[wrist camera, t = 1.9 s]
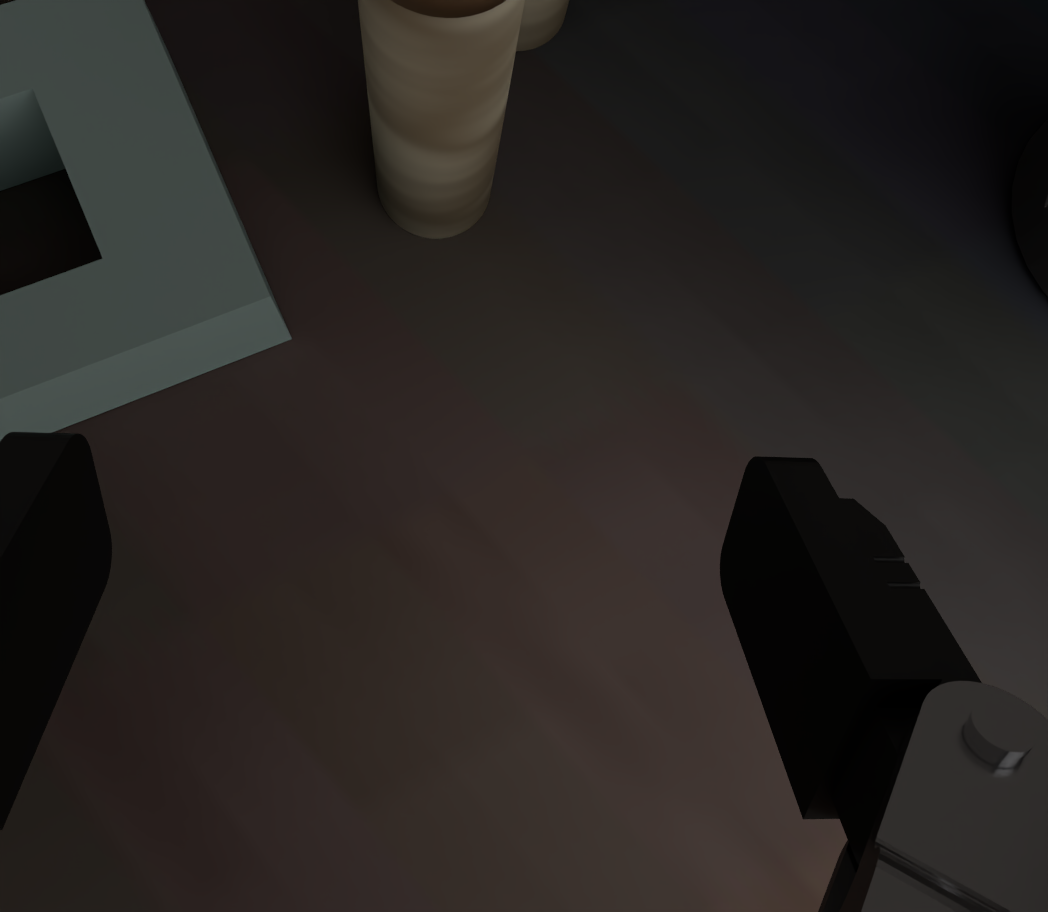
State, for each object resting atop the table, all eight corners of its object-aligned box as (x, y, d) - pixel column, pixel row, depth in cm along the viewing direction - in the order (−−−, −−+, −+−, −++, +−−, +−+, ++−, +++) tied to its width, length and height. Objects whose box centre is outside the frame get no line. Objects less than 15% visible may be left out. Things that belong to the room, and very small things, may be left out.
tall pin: (464, 115, 29) (495, -214, 17) (511, 216, 29) (575, -48, 17) (357, 153, 28) (312, -161, 16) (403, 257, 28) (391, 13, 16)
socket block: (169, 53, 28) (128, -35, 24) (292, 339, 27) (270, 295, 23) (-231, 183, 26) (-346, 111, 22) (-112, 496, 25) (-211, 478, 21)
